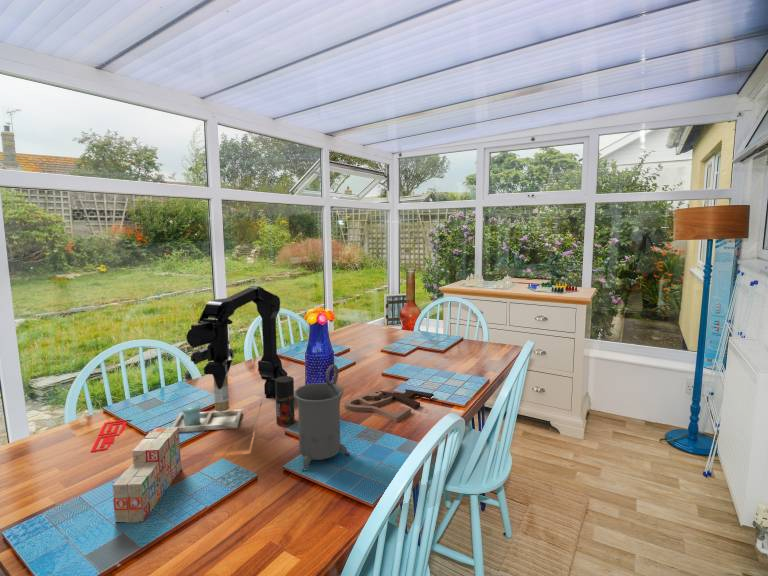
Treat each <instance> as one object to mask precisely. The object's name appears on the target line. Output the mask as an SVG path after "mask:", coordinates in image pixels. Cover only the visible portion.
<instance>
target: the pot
mask: <svg viewBox="0 0 768 576" xmlns="http://www.w3.org/2000/svg"><path fill="white" fill-rule="evenodd" d="M181 410H182V412H183V413H184V426H193V425H199V424H200V412H201V405H200V404H198V403H197V404H196V403H193V404H187V405H185V406H183V407H182V408H181Z"/></svg>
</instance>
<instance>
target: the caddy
mask: <svg viewBox="0 0 768 576" xmlns="http://www.w3.org/2000/svg"><path fill="white" fill-rule="evenodd" d="M242 410H243V409H242V408H240V409H239V408H238V409H228V410H226V411H223V412H218V411H215V410H214V411H213V410H212V411H210V410H209V411H200V424H199V425H193V426H184V412H183V413H179V414H178V415H177V417H176V419H175V420H174V422H173V423H172V424H171V426H170V427H179V433H188V432H200V431H215V430H226V429H227V430H229V429H237V428H238V426H239V425H240V424H239V423H240V420H241V417H242V415H243V412H242Z"/></svg>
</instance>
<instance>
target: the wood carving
mask: <svg viewBox="0 0 768 576" xmlns="http://www.w3.org/2000/svg"><path fill="white" fill-rule="evenodd" d="M405 391H406V392H405ZM405 391H404V393H396V392H390V391H384V390H376V389H375V390H374V389H370V390H368V391H366V392H365V393H364V394H362V395H359V396H354V397H350V398H347V399H345V400H344V401H343V403H342V404H343V405H342V406H343V407H342V408H343V409H345V410H346V411H349V412H350V411H351V412H358V413H359V412H360V413H364V412H365V413H366V412H367V413H369V412H370V413H375V414H377V415H380V416H383V417H385V418H387V419H389V420H391V421H392V422H395V423H398V422H400V421H401V420H403V419H404V418H406V417H408V416H409V415H411V413H412V409H413V410H415V411H416V410H418V409H420V408H421V402H420V401H417V400H415V398H414V397H415V396H419V397H426V398H429V399H430V398H431V397H432V396H434V395H435V394H434V393H432V392H426V391H419V390H413V389H406V388H405ZM434 397H435V396H434ZM371 401H373V402H371ZM393 401H395V402H398V403H401V405H402V404H403V405H404V406H407V407H408V408H407V407H406V408H404V409H400V410H396V411H394V412H392V411H389V410H385V409H382V408H380V407H381V406H383V405H387V404H389V403H391V402H393ZM359 404H360V405H359Z"/></svg>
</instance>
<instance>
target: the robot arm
mask: <svg viewBox="0 0 768 576" xmlns="http://www.w3.org/2000/svg"><path fill="white" fill-rule="evenodd" d="M251 302H252V303H254V304H255V305H256V310H257V311H256V312H258V314H259V316H260V318H261V327H262V328H261V329H262V350H263V351H262V353H263V354H262V355H263V356H262V357H261V359H260V360H258V361H257V366H258V367H257V372H258V373H259V375H260V378H261V380H265V381H264V387H263V388H264V395H265V398H266V399H267V398H268V399H269V398H276V389H275V379H276V378H278V377H282V376H288V372H287V371H286V370H285V369H284V368H283V364H282V360H281V358H280V357H279V355H278V350H277V349H278V348H277V322H276V321H277V319H276V318H277V316H278V314H279V313H280V310H281V299H280V297H279V296H278V295H276V294H273V292H270V291H267V290H266V289H264V288H263V287H261V286H258V285H257V286H255V285H251V286H248V287H247V288H245V289H243V290H241V291H239V292H237V293H235V294H233V295H230V296H227V297H225V298H216V299H213V300H209V301H207V302H206V303H205V307H204V308H203V311H202V313H201V315H200V316H199V319H198V321H197V324H196V323H195V324H191V325H190V329H189V330H188V331H187V334H186V335H185V336H186V337H185V338H186V341H187V343H188V345H189V346H190V347H192V348H194V349H195V348H200V347H202V346H206V345H207V347H204V348H201V349H197V350H196V351H193V352H192V353H191V355H190V362H193V365H198V364H199V363H201V362H204V361H207V364H206V365H205V366H204V367H203V374H204V375H212V377H213V376H214V377H213V380H214V379H215V382H216V385H217V387H218V389H222V386H223V383H224V380H225V377H226V374H227V371H228V373H229V371H230V369H231V366H232V363H233V359H234V357H235V350H234V349H232V348H230V344H231V342H230V341H231V340H230V339H229V325H231V324H233V321H232V320H231V319H230V317H231V316H233V314H235V311H236V310H237V309H238V308H242V306H245V305H246V304H249V303H251ZM230 358H231V359H230Z"/></svg>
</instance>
